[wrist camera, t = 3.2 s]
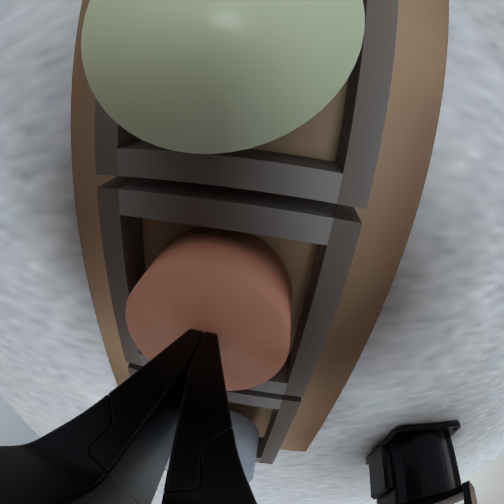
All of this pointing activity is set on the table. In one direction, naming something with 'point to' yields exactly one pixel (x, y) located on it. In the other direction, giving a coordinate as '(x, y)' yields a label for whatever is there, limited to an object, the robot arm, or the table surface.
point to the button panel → (278, 211)
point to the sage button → (218, 66)
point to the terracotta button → (217, 302)
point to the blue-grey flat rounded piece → (243, 442)
